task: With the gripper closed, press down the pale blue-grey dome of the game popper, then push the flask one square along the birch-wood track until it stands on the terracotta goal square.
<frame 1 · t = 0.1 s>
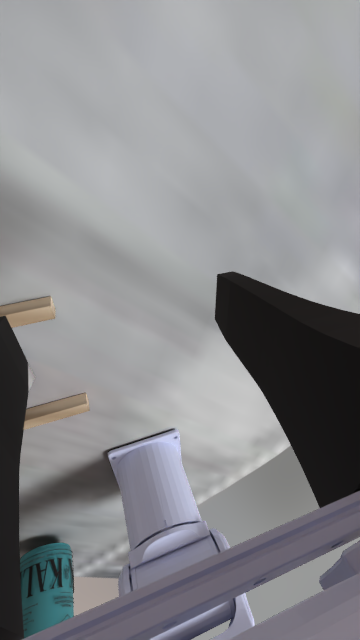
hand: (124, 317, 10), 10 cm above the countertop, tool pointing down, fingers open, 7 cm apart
beverage bottle: (45, 539, 39), on the countertop
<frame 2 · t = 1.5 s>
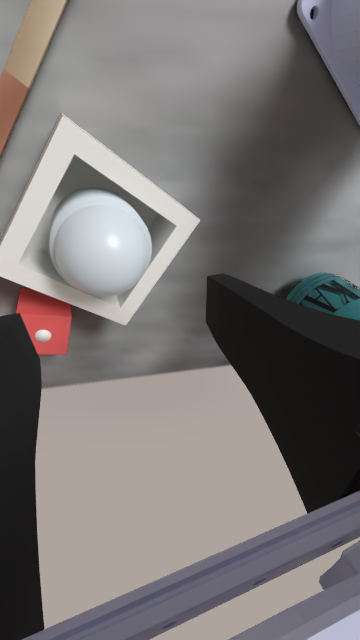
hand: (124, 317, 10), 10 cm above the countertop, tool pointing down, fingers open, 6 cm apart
dome housing: (94, 223, 18), on the countertop
dome: (103, 250, 15), point 4 cm above the countertop, slide at 0.0 cm
beverage bottle: (297, 292, 28), on the countertop
red die: (44, 309, 21), on the countertop
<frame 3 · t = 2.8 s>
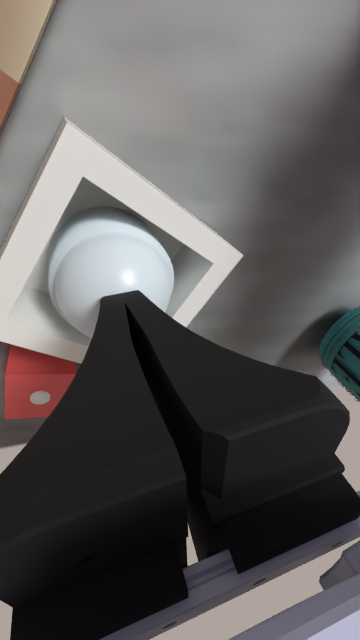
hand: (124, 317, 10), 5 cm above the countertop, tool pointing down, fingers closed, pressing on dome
dome housing: (105, 255, 15), on the countertop
dome: (115, 285, 12), point 3 cm above the countertop, slide at 1.2 cm, touching gripper
beverage bottle: (335, 322, 24), on the countertop
red die: (42, 356, 17), on the countertop
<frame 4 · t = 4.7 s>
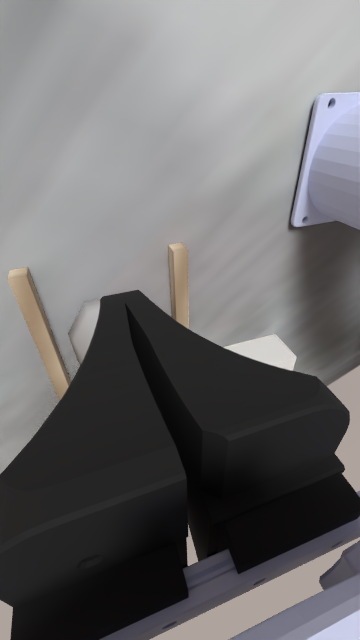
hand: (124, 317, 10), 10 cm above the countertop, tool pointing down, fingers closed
game track: (125, 372, 26), on the countertop
dome housing: (235, 371, 31), on the countertop
flask: (116, 330, 23), on the countertop
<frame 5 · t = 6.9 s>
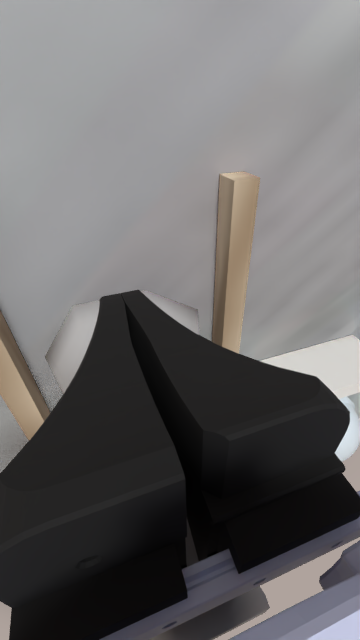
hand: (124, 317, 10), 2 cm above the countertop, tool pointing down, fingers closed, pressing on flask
game track: (136, 395, 17), on the countertop
dome housing: (290, 388, 22), on the countertop
flask: (127, 346, 14), on the countertop, touching gripper
dome: (319, 424, 19), point 3 cm above the countertop, slide at 1.2 cm
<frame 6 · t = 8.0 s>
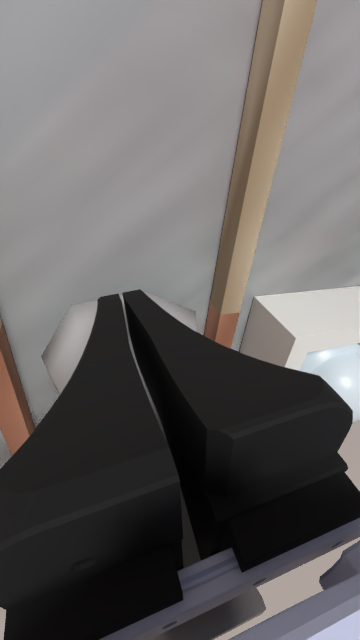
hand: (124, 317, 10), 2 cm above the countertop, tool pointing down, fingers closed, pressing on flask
game track: (117, 310, 13), on the countertop
dome housing: (294, 345, 19), on the countertop
flask: (124, 347, 14), on the countertop, touching gripper
dome: (328, 381, 16), point 3 cm above the countertop, slide at 1.2 cm
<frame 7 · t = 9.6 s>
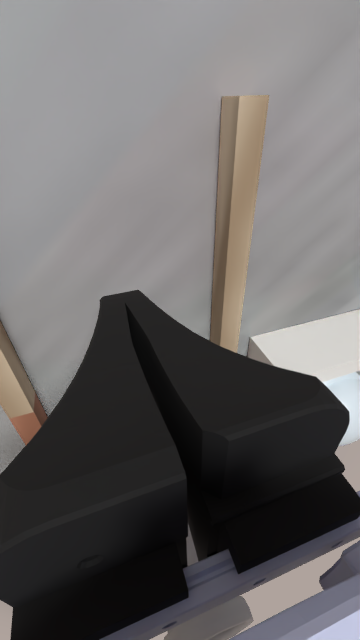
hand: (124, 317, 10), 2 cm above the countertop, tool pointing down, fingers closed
game track: (128, 367, 15), on the countertop
dome housing: (295, 368, 20), on the countertop
flask: (143, 403, 18), on the countertop
dome: (327, 404, 18), point 3 cm above the countertop, slide at 1.2 cm
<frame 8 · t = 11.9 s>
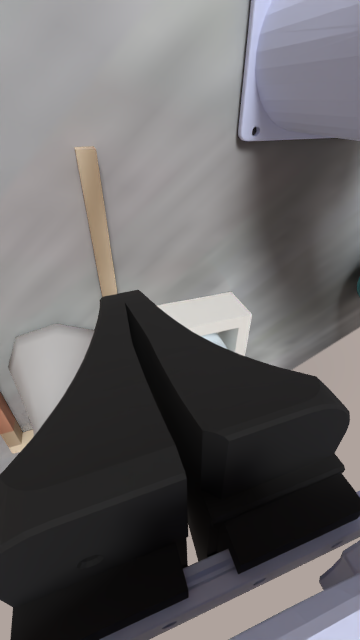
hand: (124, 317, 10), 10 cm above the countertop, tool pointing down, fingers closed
game track: (41, 326, 21), on the countertop
dome housing: (186, 337, 26), on the countertop
flask: (60, 356, 24), on the countertop
dome: (198, 361, 24), point 3 cm above the countertop, slide at 1.2 cm
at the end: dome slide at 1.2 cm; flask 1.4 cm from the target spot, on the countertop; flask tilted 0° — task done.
